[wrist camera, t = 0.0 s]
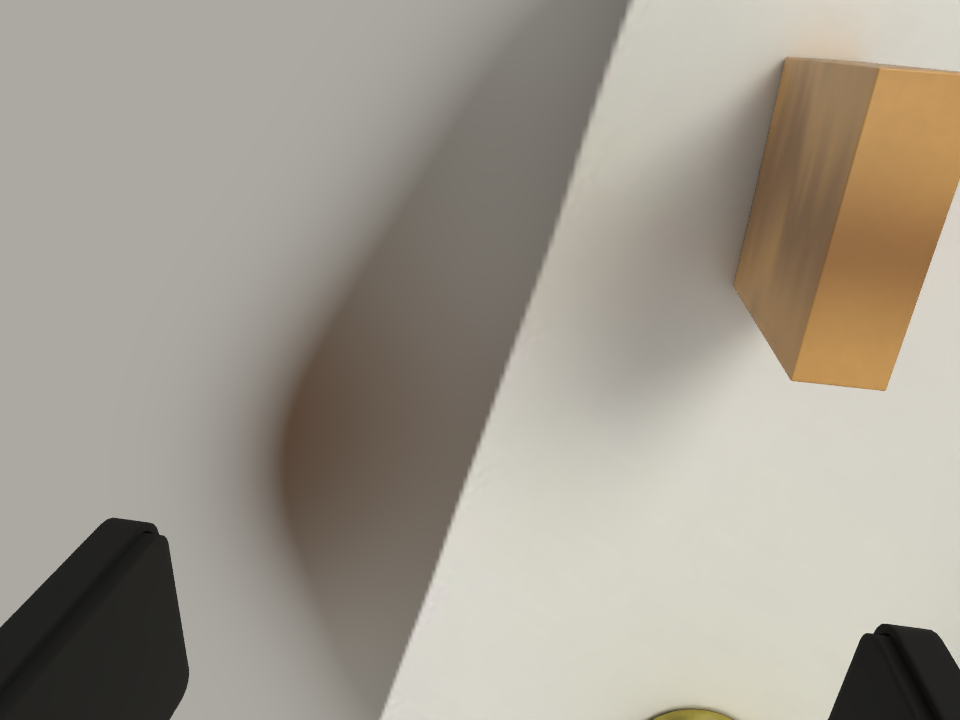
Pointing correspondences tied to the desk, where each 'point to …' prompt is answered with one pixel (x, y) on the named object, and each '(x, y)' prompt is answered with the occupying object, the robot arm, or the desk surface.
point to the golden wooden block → (848, 214)
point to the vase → (692, 715)
